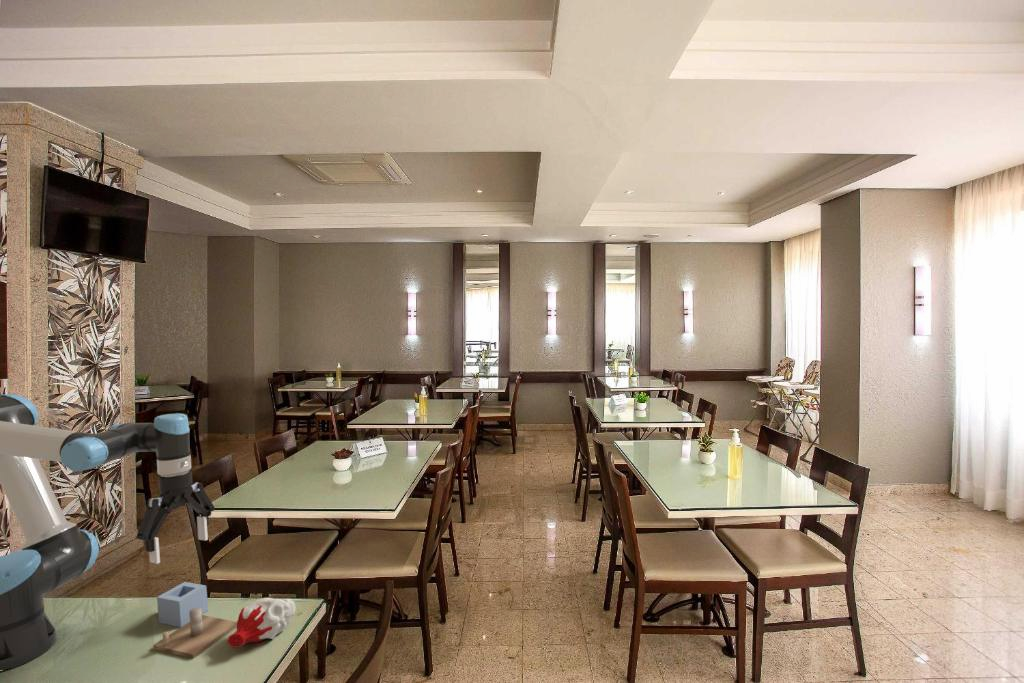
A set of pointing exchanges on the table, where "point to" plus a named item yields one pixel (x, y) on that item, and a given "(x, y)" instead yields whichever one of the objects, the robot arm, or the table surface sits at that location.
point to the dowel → (165, 639)
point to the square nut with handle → (181, 603)
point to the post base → (199, 641)
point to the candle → (262, 620)
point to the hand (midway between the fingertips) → (180, 550)
